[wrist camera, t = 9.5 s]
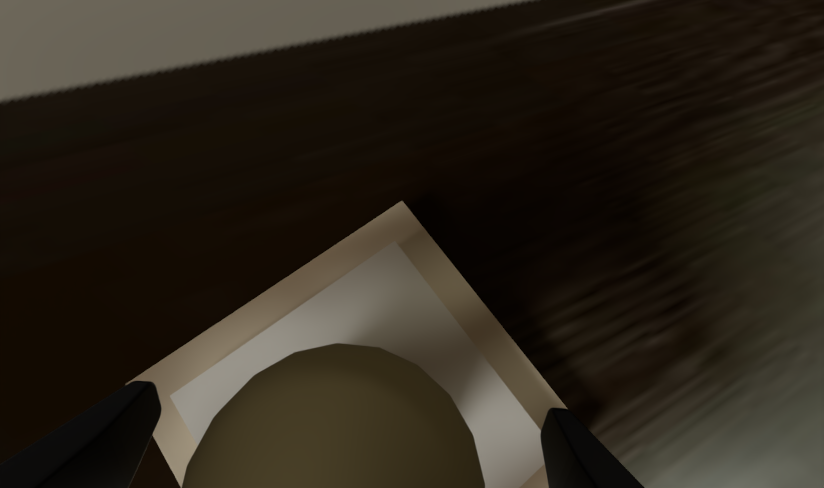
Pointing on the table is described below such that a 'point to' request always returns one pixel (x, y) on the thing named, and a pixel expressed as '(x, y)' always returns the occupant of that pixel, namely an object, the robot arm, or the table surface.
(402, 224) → the stepped square base
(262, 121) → the table surface
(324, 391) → the brown ball-topped peg
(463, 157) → the table surface
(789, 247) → the table surface
